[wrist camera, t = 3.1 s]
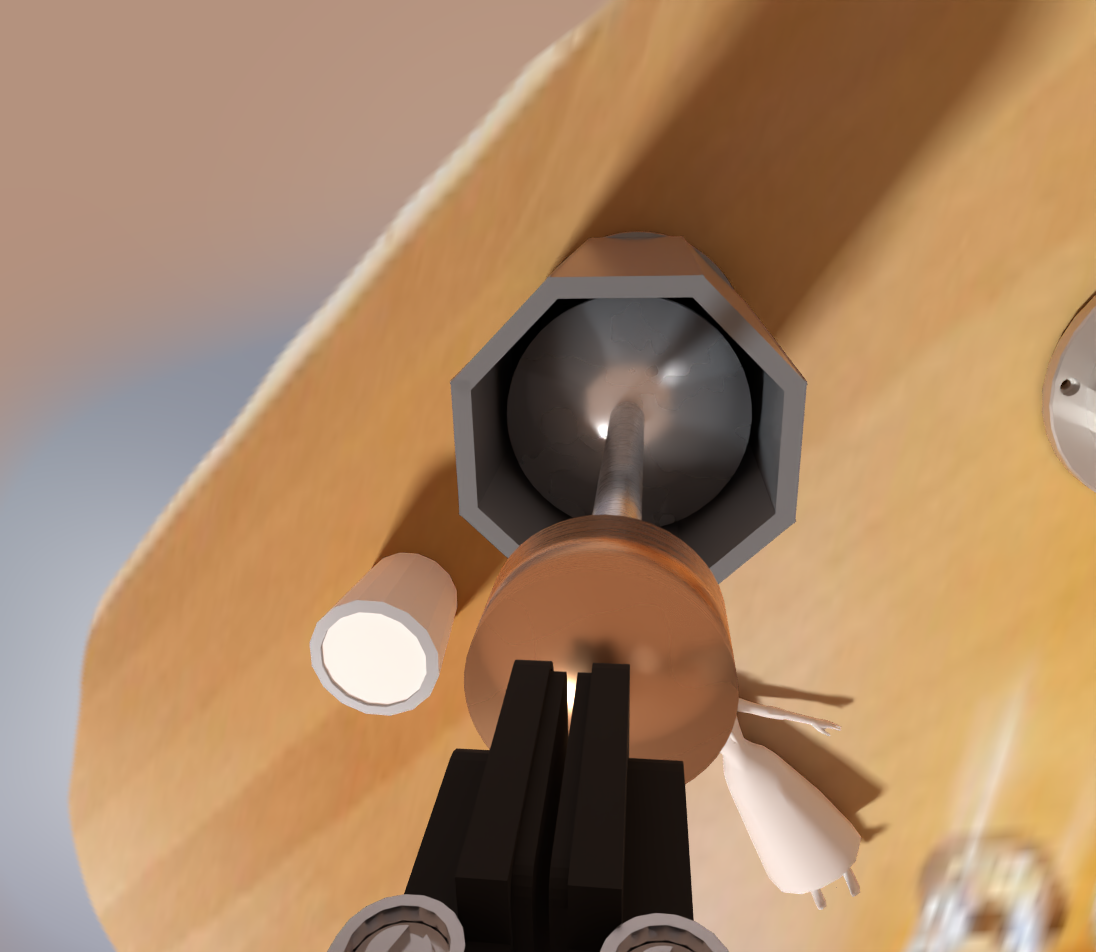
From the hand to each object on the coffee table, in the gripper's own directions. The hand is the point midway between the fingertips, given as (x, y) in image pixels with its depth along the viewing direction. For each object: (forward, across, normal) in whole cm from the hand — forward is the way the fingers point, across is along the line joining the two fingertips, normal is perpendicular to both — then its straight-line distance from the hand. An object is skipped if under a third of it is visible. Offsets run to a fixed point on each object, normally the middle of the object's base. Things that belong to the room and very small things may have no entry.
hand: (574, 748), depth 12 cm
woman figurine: (+32, -8, +26) cm, 42 cm away
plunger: (+18, 0, 0) cm, 18 cm away
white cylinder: (+32, +13, +15) cm, 38 cm away
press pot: (+32, 0, +2) cm, 32 cm away
